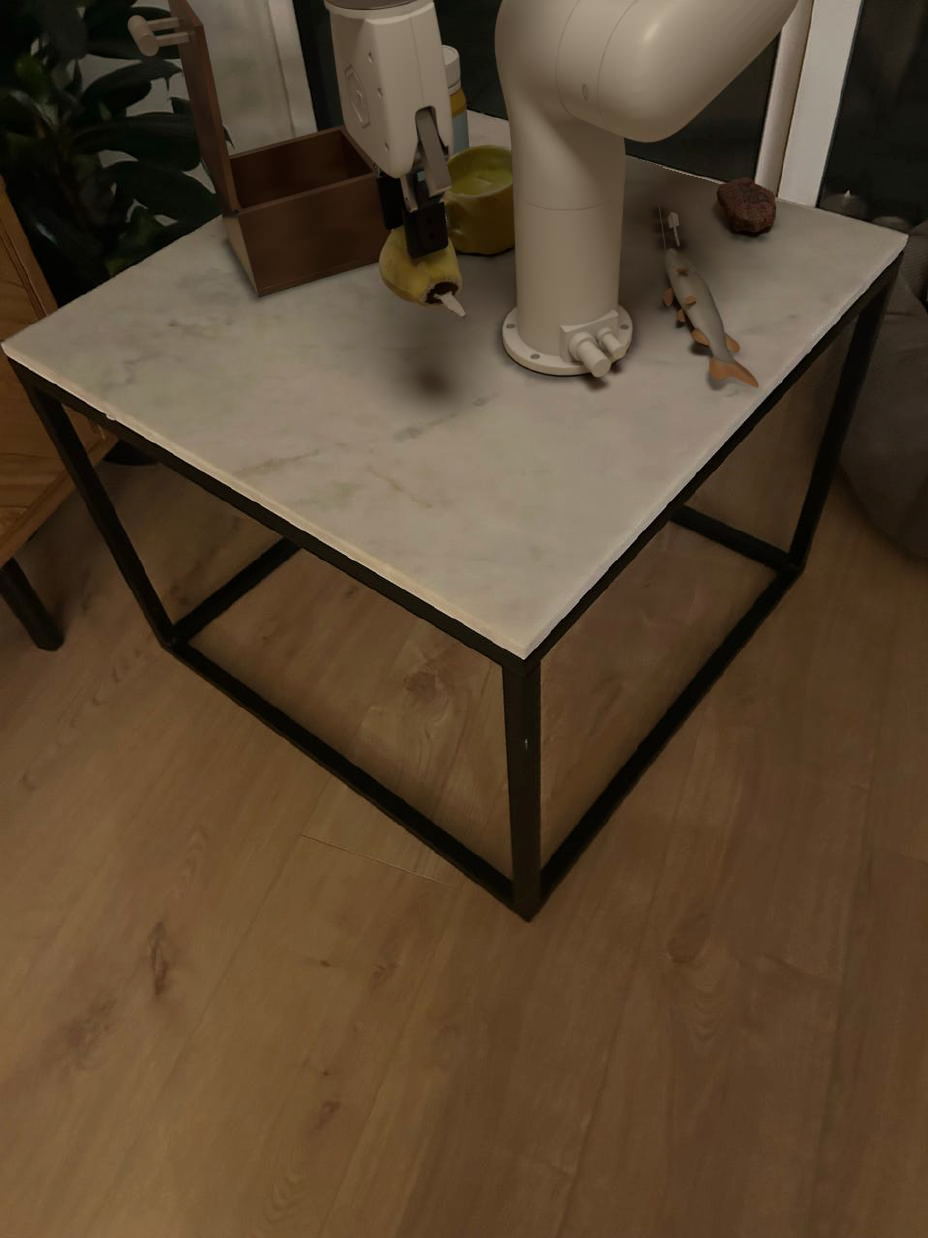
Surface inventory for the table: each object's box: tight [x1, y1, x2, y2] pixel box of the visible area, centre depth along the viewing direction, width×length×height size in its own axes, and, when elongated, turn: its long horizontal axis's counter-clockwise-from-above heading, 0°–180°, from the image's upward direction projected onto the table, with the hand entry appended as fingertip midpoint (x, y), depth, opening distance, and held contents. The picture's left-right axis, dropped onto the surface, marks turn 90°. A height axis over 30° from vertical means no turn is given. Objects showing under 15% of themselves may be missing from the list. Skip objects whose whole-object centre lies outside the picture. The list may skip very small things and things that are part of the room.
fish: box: [662, 248, 760, 388], centre depth 94 cm, size 4×21×5 cm
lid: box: [127, 0, 239, 211], centre depth 93 cm, size 16×13×5 cm
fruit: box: [378, 225, 467, 318], centre depth 77 cm, size 6×6×10 cm
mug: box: [444, 144, 515, 256], centre depth 105 cm, size 12×10×10 cm
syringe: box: [657, 202, 680, 251], centre depth 106 cm, size 10×2×2 cm, turn 177°
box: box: [209, 124, 393, 298], centre depth 106 cm, size 16×13×9 cm
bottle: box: [414, 44, 470, 182], centre depth 109 cm, size 7×7×15 cm
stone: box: [715, 176, 777, 233], centre depth 105 cm, size 7×7×3 cm
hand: (415, 235), depth 76 cm, fingers closed on fruit, 4 cm apart
